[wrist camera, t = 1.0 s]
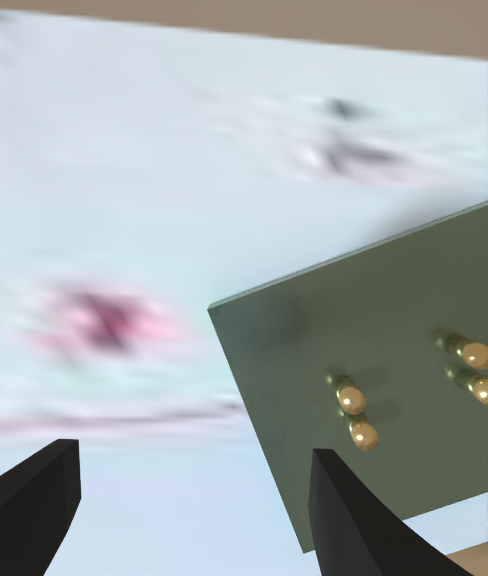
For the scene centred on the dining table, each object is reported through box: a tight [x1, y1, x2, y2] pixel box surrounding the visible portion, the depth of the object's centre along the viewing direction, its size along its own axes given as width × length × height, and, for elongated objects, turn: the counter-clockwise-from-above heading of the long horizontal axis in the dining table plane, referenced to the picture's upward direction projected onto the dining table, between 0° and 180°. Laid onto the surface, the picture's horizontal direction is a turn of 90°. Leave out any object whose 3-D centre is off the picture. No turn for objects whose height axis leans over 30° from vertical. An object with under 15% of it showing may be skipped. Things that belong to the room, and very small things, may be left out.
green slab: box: [207, 201, 488, 553], centre depth 20 cm, size 15×17×4 cm
